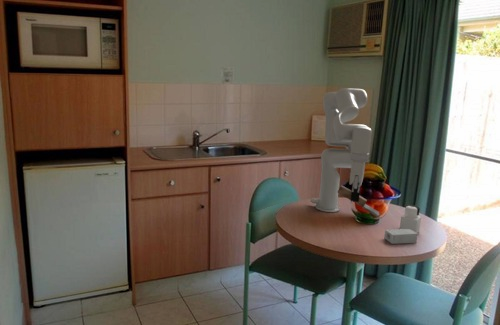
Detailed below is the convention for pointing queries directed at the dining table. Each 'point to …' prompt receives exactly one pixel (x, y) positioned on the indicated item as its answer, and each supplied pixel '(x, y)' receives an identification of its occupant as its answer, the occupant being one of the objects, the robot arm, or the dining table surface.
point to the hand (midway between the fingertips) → (354, 200)
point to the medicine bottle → (411, 218)
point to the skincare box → (400, 236)
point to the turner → (362, 201)
